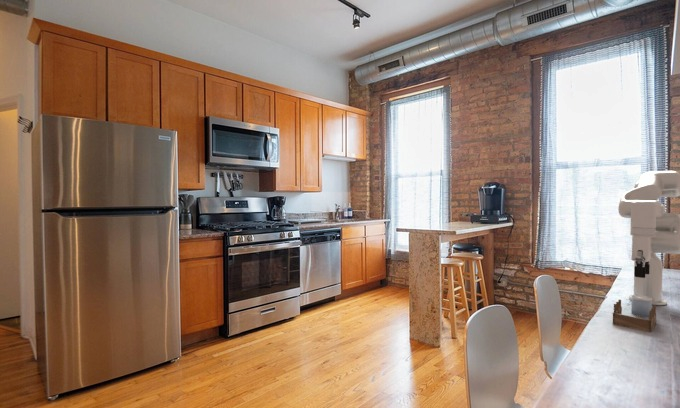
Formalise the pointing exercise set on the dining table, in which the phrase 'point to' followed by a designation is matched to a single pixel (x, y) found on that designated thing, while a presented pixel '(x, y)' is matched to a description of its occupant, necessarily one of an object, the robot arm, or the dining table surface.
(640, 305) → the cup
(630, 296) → the robot arm
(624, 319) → the rack
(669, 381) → the dining table surface
